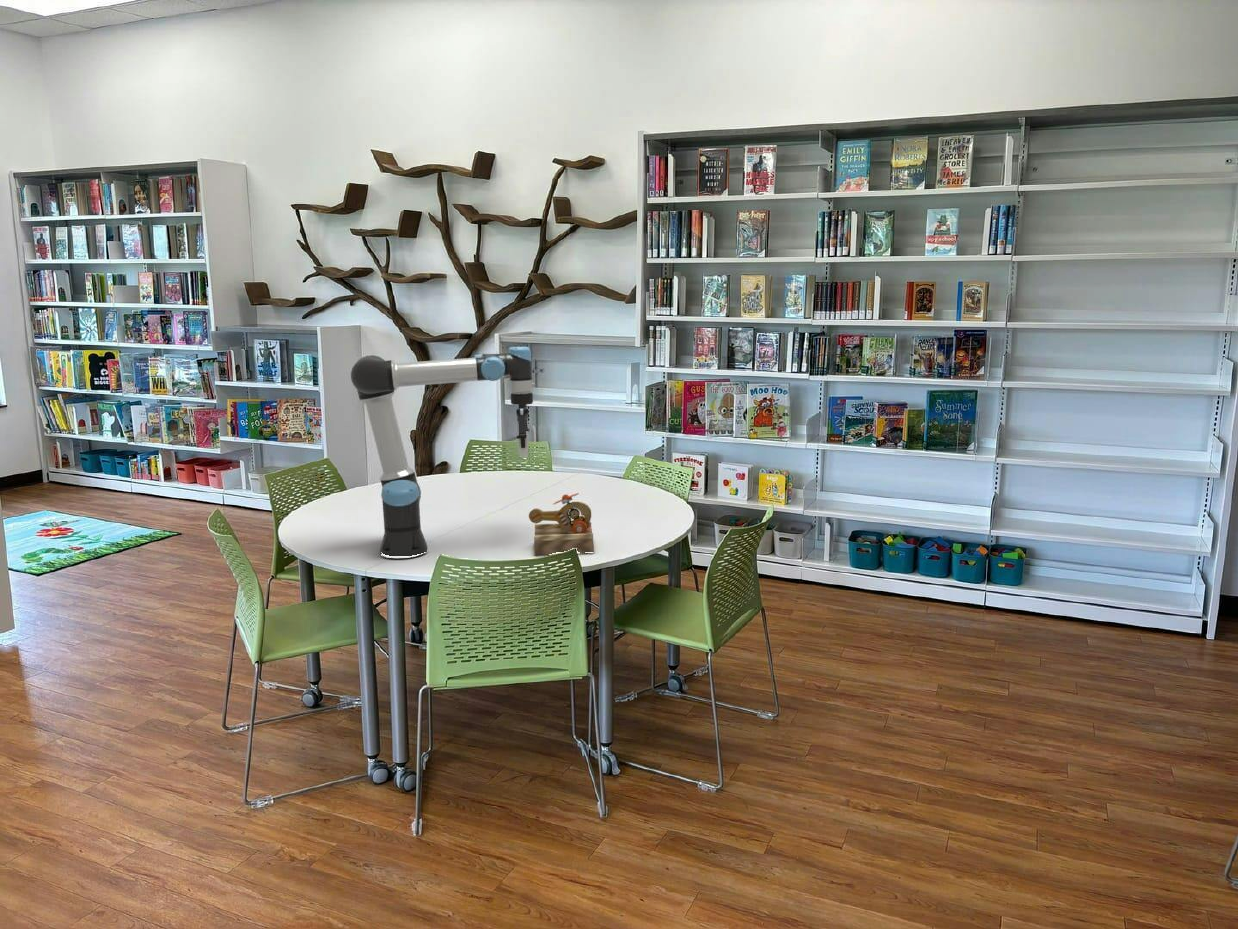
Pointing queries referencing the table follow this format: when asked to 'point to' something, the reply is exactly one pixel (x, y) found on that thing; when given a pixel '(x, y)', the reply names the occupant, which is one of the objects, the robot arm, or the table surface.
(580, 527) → the toy helicopter
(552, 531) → the display stand
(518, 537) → the table surface
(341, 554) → the table surface
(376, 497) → the table surface
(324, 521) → the table surface
